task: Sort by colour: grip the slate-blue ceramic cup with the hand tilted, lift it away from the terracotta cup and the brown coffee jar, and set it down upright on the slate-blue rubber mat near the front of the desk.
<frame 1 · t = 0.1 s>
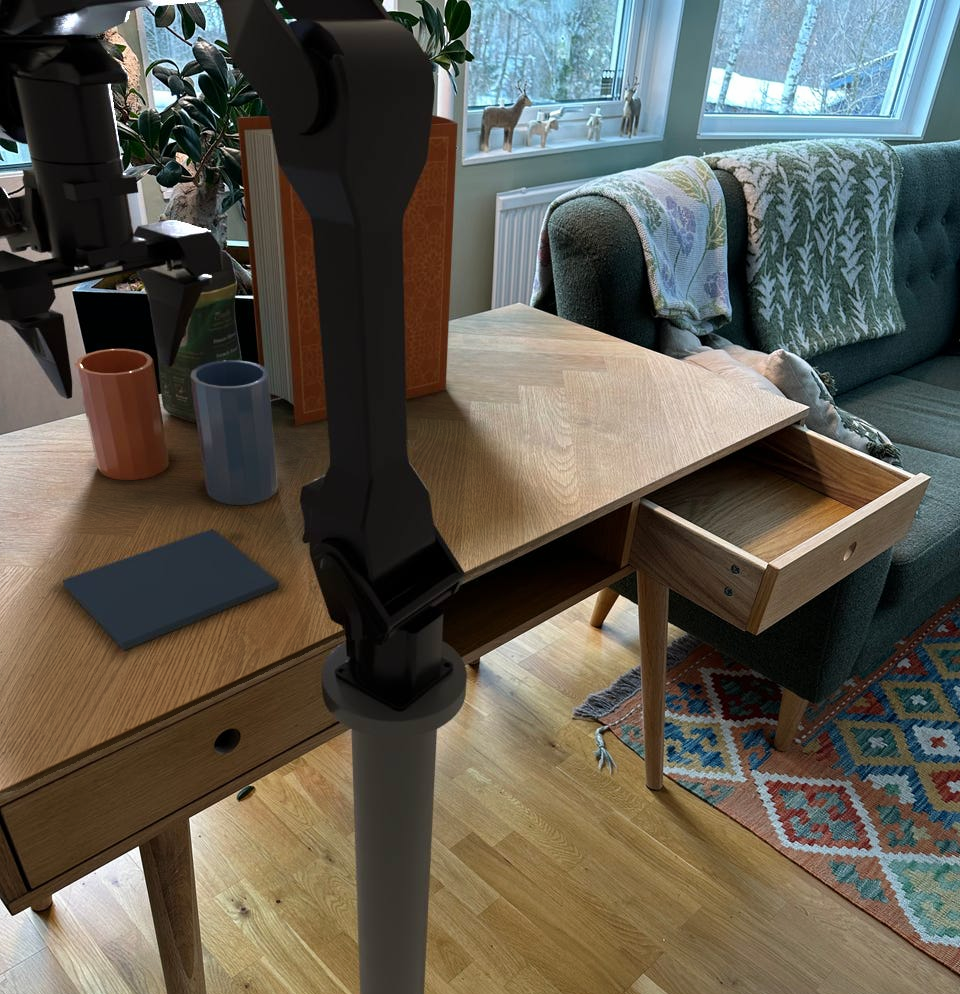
hand: (118, 380, 69), 16 cm above the table, tool pointing down, fingers open, 9 cm apart
terracotta cup: (134, 464, 92), on the table
blue cup: (242, 488, 90), on the table
book: (360, 395, 111), on the table
coffee jar: (207, 413, 104), on the table
blue mat: (172, 588, 75), on the table
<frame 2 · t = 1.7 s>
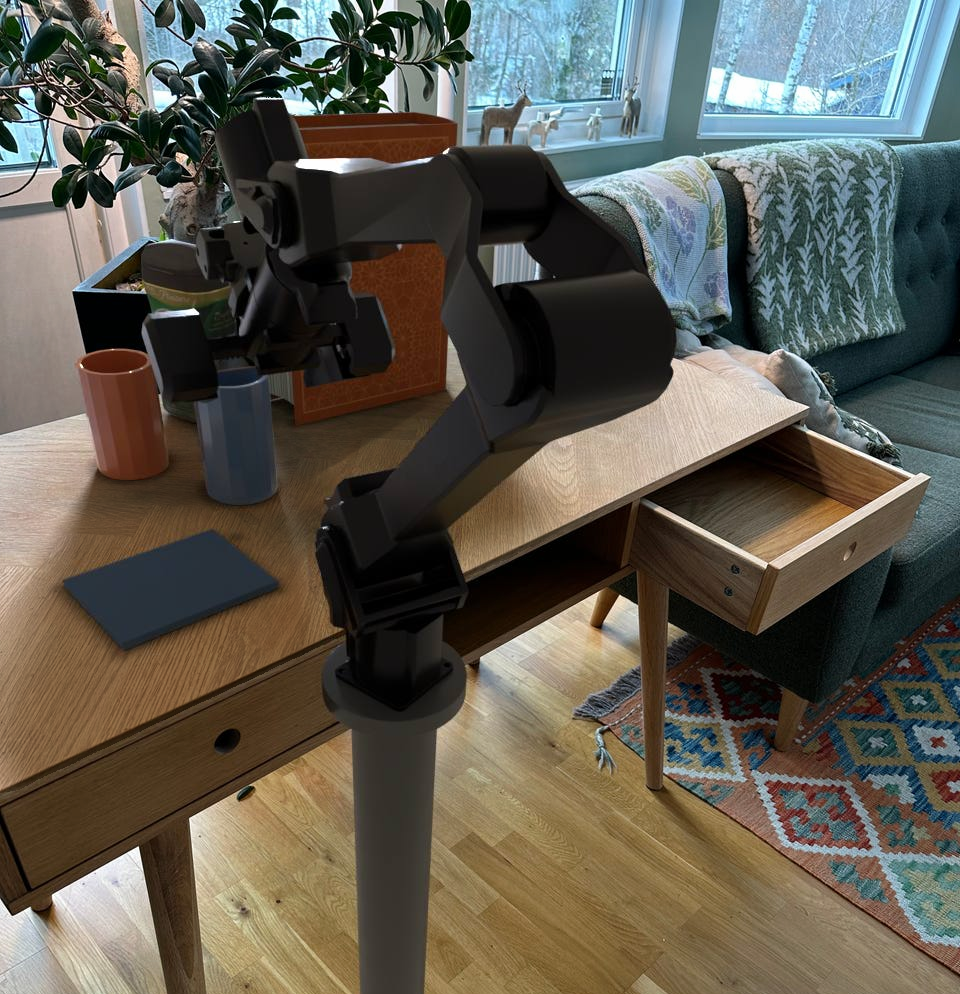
hand: (256, 389, 76), 13 cm above the table, tool tilted 45°, fingers open, 9 cm apart
nothing on the table moved.
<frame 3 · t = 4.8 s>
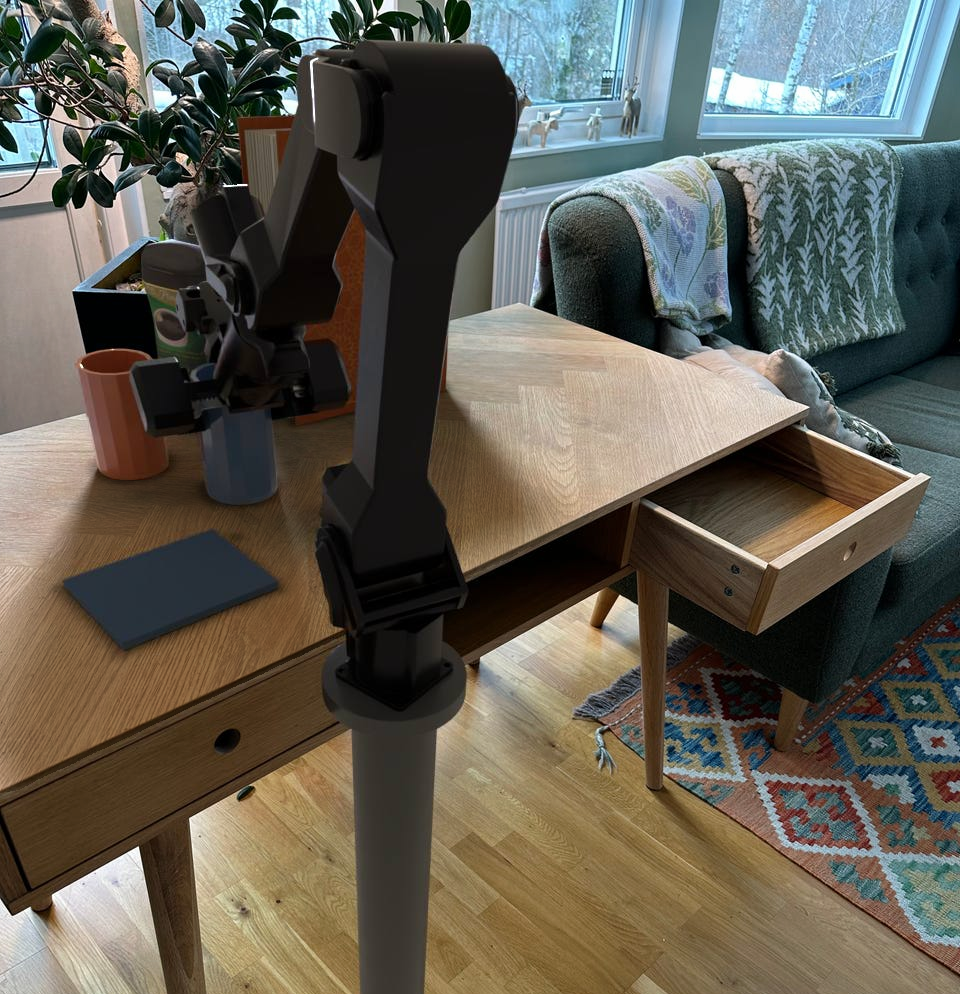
hand: (231, 422, 87), 7 cm above the table, tool tilted 45°, fingers closed on blue cup, 7 cm apart
blue cup: (242, 488, 90), on the table, touching gripper
everything else where it was.
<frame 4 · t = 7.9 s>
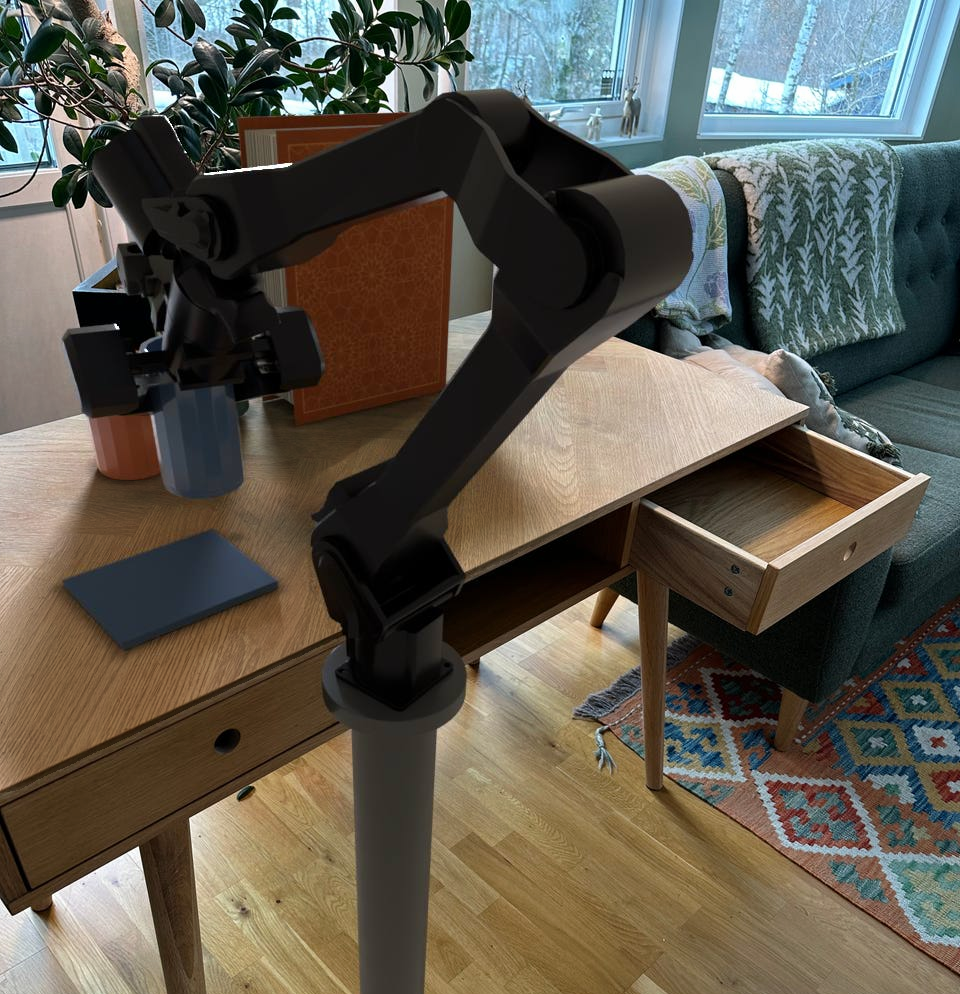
hand: (190, 403, 76), 12 cm above the table, tool tilted 45°, fingers closed on blue cup, 7 cm apart
blue cup: (204, 480, 79), point 6 cm above the table, touching gripper
everything else where it was.
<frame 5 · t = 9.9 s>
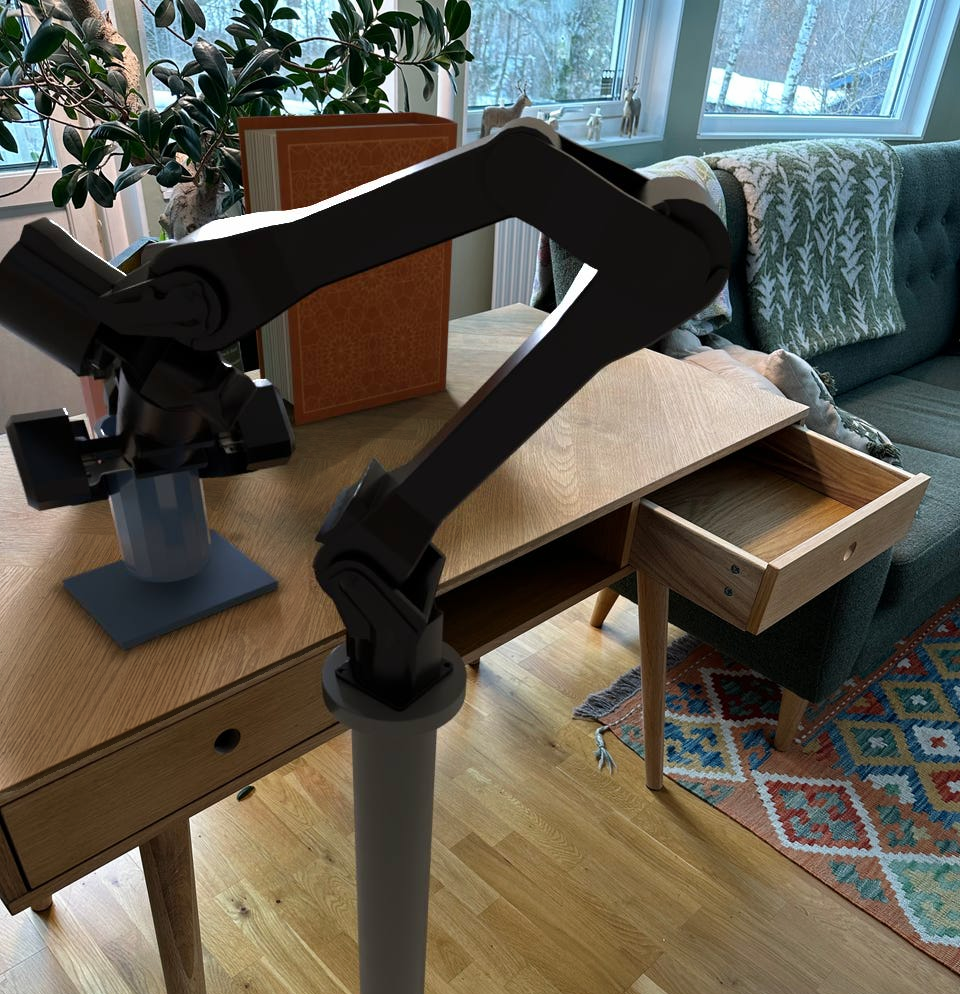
hand: (151, 480, 70), 10 cm above the table, tool tilted 45°, fingers closed on blue cup, 7 cm apart
blue cup: (168, 559, 73), point 3 cm above the table, touching gripper
everything else where it was.
when the fingers open (7 cm above the table, at t = 11.2 s): blue cup stays where it is, resting on blue mat.
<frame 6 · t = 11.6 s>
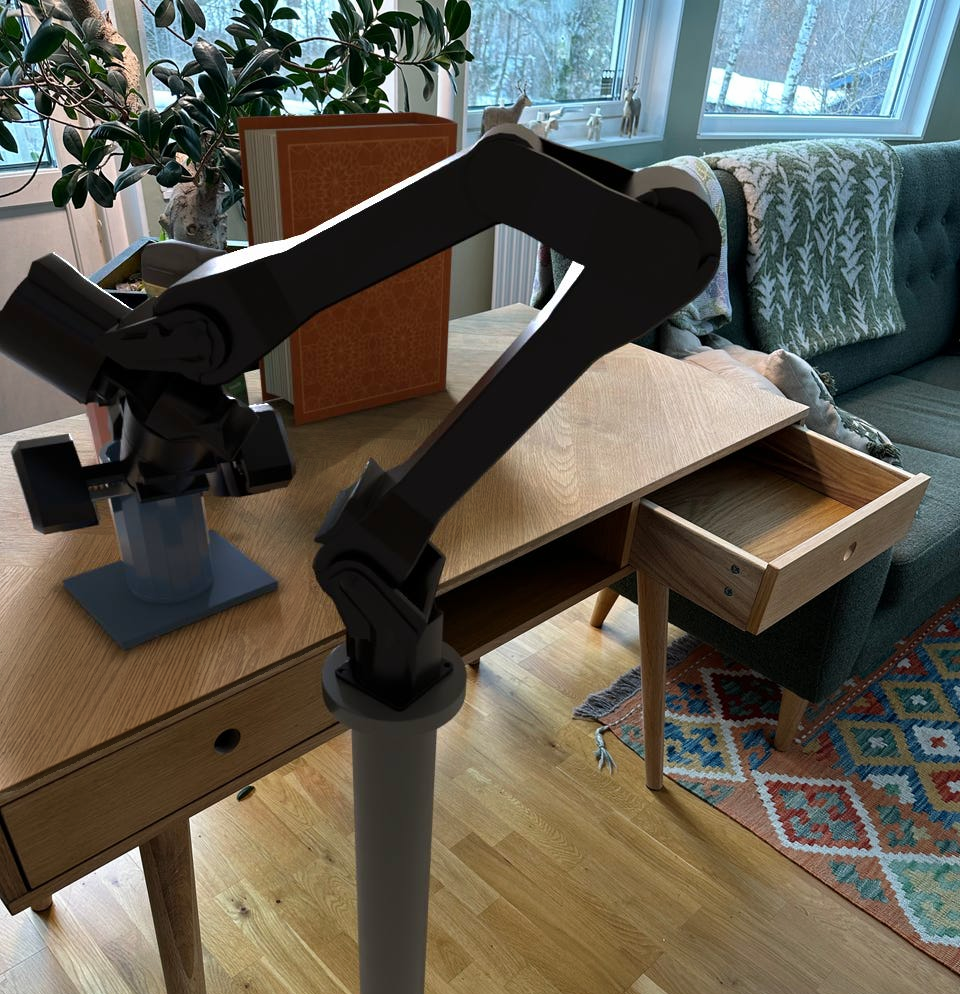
hand: (154, 501, 71), 8 cm above the table, tool tilted 45°, fingers open, 9 cm apart
blue cup: (171, 580, 75), point 1 cm above the table, touching blue mat
everything else where it was.
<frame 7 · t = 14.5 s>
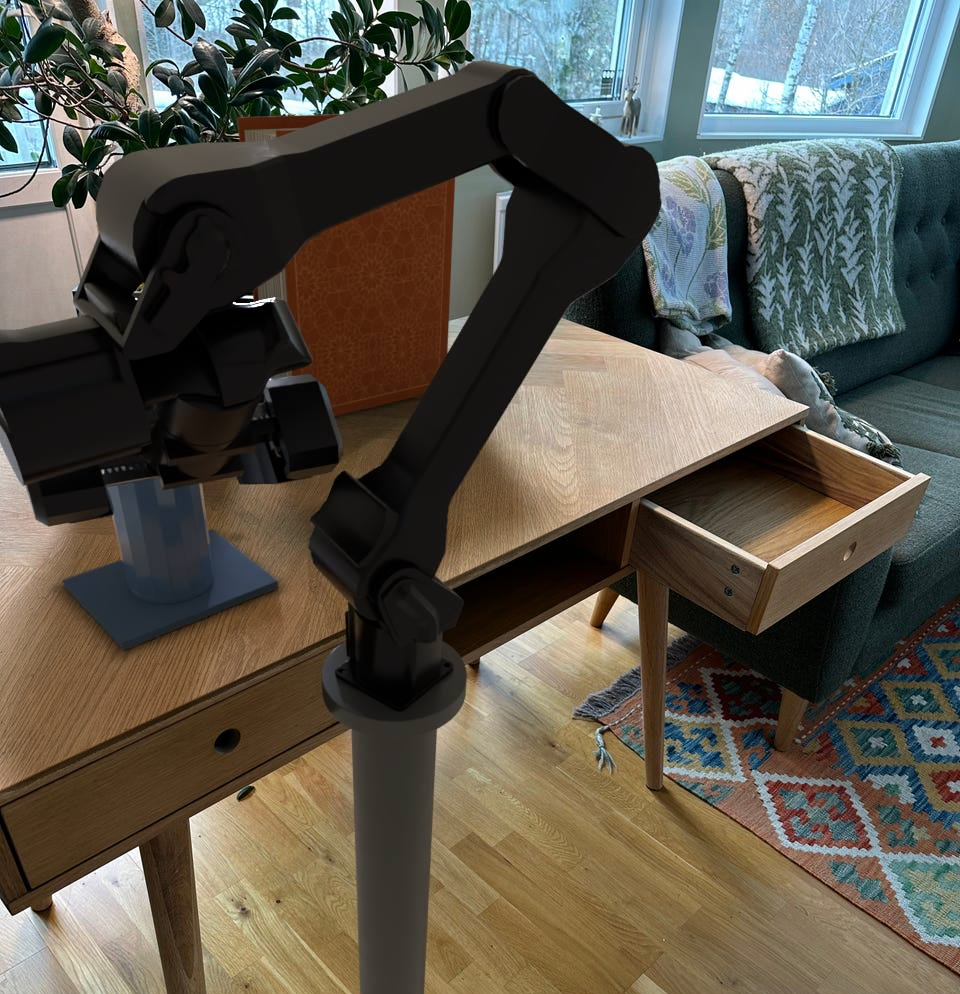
hand: (174, 489, 62), 13 cm above the table, tool tilted 45°, fingers open, 9 cm apart
nothing on the table moved.
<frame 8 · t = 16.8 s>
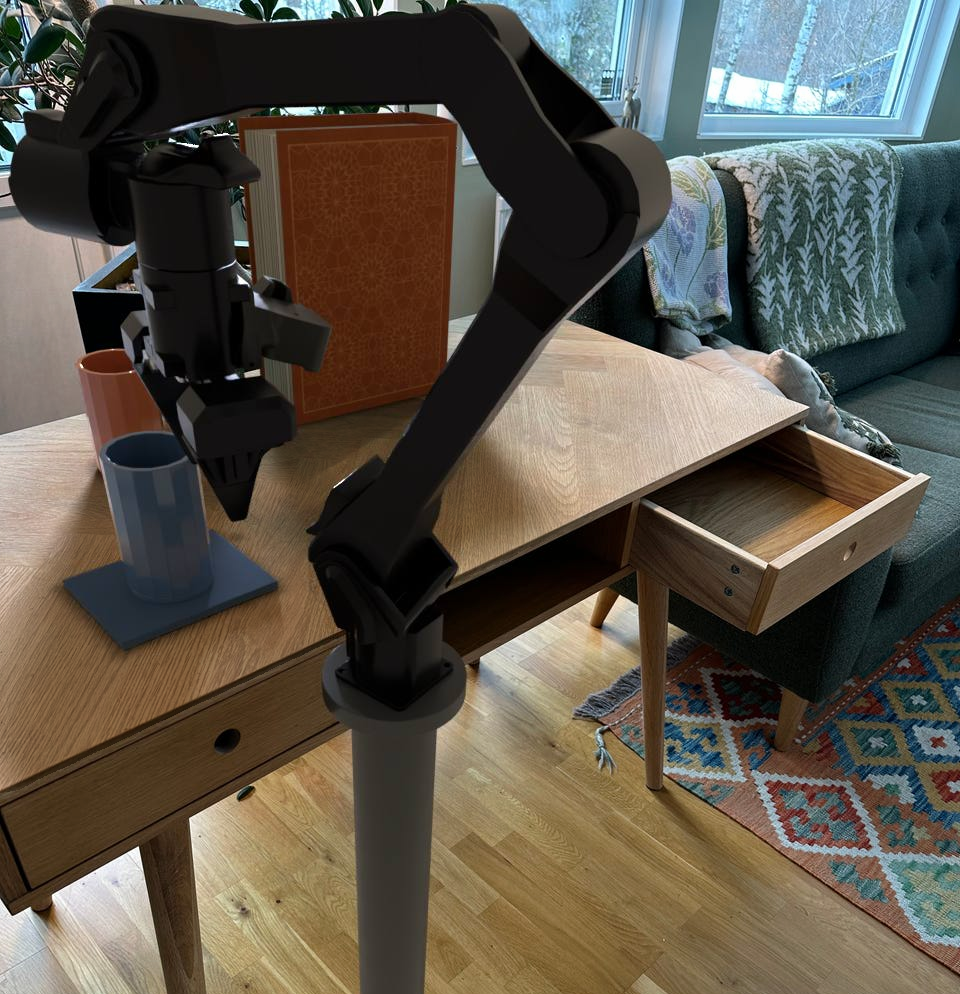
hand: (217, 490, 63), 13 cm above the table, tool pointing down, fingers open, 9 cm apart
nothing on the table moved.
at the end: blue cup inside the target area on the blue mat (0.0 cm from its centre), point 0.8 cm above the blue mat's base; blue cup tilted 0°; terracotta cup 14.9 cm from the coffee jar (horizontally) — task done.
